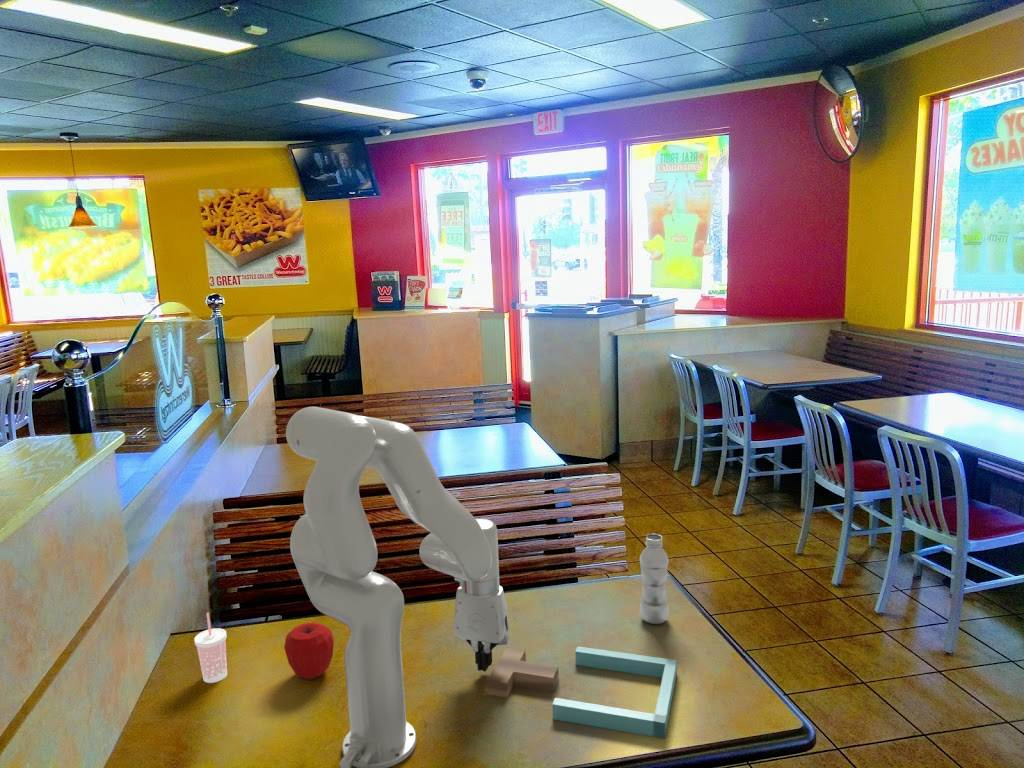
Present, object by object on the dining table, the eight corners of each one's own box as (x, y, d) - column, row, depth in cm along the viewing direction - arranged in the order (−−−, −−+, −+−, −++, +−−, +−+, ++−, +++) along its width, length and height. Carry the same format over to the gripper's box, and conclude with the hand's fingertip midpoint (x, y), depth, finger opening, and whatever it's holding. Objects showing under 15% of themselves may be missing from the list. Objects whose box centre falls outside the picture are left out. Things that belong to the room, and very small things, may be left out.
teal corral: (664, 738, 127) (664, 723, 126) (552, 719, 133) (552, 704, 132) (676, 674, 145) (676, 660, 145) (577, 659, 152) (577, 646, 151)
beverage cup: (218, 664, 154) (210, 603, 152) (237, 672, 151) (230, 609, 148) (192, 679, 149) (184, 616, 146) (212, 688, 146) (204, 623, 143)
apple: (346, 671, 150) (342, 622, 148) (306, 694, 143) (301, 643, 141) (317, 655, 157) (312, 608, 154) (277, 676, 149) (272, 627, 147)
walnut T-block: (548, 704, 137) (547, 689, 137) (487, 694, 141) (487, 680, 141) (563, 669, 149) (563, 655, 148) (507, 660, 152) (506, 647, 152)
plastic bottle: (647, 630, 162) (647, 544, 158) (634, 615, 169) (634, 533, 165) (674, 625, 164) (674, 540, 160) (660, 611, 170) (660, 529, 166)
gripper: (437, 586, 143) (442, 672, 146) (510, 595, 138) (514, 683, 142) (452, 570, 150) (456, 652, 153) (522, 577, 145) (525, 662, 149)
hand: (484, 667), depth 147 cm, fingers closed
